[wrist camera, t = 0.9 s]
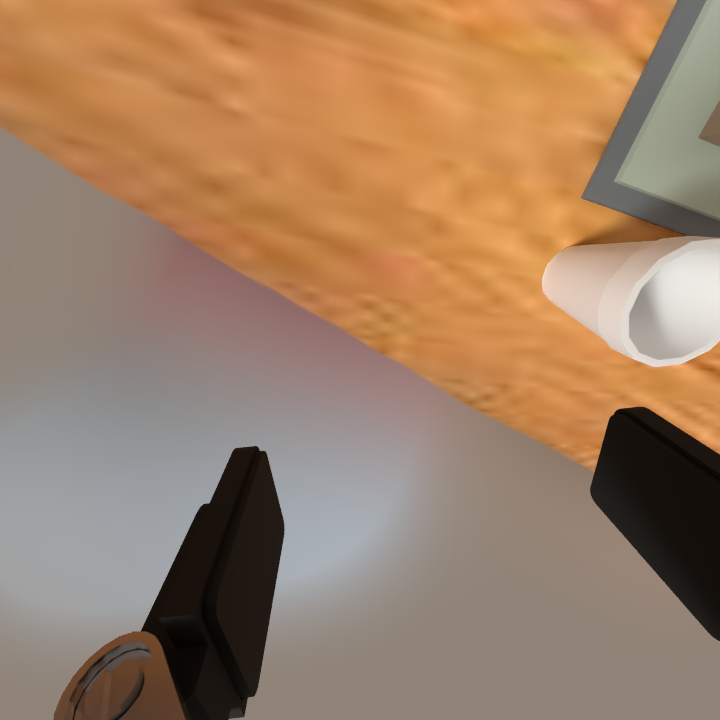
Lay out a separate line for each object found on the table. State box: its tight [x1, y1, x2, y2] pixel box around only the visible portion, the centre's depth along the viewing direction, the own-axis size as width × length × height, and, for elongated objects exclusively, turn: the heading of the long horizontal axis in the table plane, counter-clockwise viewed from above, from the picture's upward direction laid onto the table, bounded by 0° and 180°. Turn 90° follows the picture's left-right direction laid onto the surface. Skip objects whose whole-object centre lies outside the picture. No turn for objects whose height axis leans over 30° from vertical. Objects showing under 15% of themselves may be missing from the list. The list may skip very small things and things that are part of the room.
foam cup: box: [542, 236, 720, 367], centre depth 30 cm, size 10×9×13 cm
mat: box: [581, 0, 720, 238], centre depth 30 cm, size 18×18×1 cm
